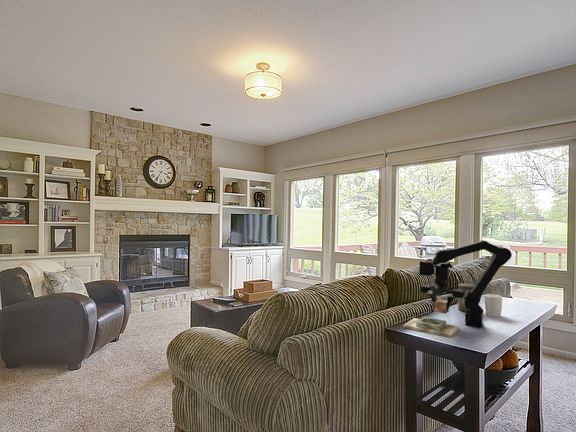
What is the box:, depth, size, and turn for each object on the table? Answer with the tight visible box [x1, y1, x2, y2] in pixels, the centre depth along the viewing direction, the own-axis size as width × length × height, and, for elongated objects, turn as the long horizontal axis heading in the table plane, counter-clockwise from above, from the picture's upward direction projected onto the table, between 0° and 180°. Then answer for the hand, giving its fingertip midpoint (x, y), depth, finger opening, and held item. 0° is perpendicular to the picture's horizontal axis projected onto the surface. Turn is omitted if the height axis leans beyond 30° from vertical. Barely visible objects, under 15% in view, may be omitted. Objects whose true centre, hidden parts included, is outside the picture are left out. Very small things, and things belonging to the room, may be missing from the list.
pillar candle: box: [457, 282, 480, 313], centre depth 188 cm, size 10×10×15 cm
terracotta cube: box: [434, 299, 450, 315], centre depth 167 cm, size 5×5×5 cm
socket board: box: [402, 316, 460, 338], centre depth 158 cm, size 20×14×3 cm
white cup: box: [484, 293, 503, 318], centre depth 179 cm, size 8×8×10 cm
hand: (441, 309), depth 167 cm, fingers closed on terracotta cube, 5 cm apart
